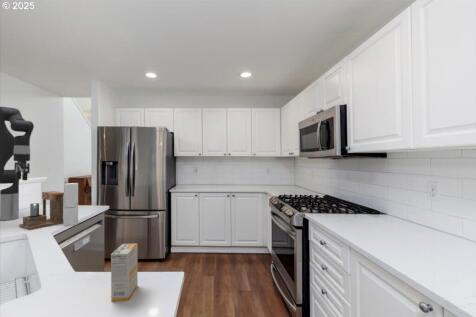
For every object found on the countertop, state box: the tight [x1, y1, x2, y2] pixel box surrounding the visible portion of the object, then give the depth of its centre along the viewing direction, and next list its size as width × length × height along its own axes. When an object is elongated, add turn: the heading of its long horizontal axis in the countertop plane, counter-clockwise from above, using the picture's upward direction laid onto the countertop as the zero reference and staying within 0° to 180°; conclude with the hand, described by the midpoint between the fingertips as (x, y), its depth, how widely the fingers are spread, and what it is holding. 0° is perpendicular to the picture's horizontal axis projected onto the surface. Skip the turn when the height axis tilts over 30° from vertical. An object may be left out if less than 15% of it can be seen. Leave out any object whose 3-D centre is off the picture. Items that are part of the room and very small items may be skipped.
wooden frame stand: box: [18, 190, 64, 231], centre depth 147 cm, size 15×18×19 cm
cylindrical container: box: [63, 182, 79, 227], centre depth 148 cm, size 7×7×25 cm
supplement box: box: [110, 243, 139, 302], centre depth 70 cm, size 8×5×13 cm, turn 5°
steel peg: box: [29, 202, 40, 218], centre depth 144 cm, size 4×4×12 cm
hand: (21, 179), depth 147 cm, fingers open, 8 cm apart
